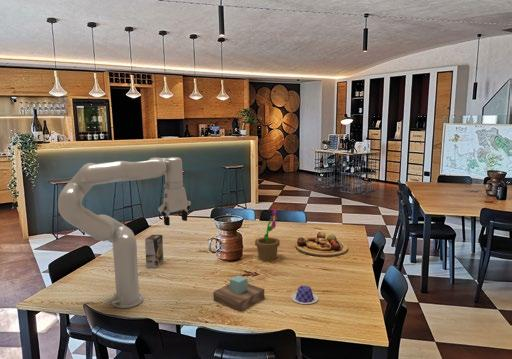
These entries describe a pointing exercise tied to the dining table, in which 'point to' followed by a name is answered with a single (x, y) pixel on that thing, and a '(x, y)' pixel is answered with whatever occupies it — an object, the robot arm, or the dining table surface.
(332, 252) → the wooden plate with food
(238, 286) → the teal cube
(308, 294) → the pudding
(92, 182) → the robot arm
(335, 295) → the dining table surface
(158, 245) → the coffee box
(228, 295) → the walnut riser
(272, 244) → the flowerpot
